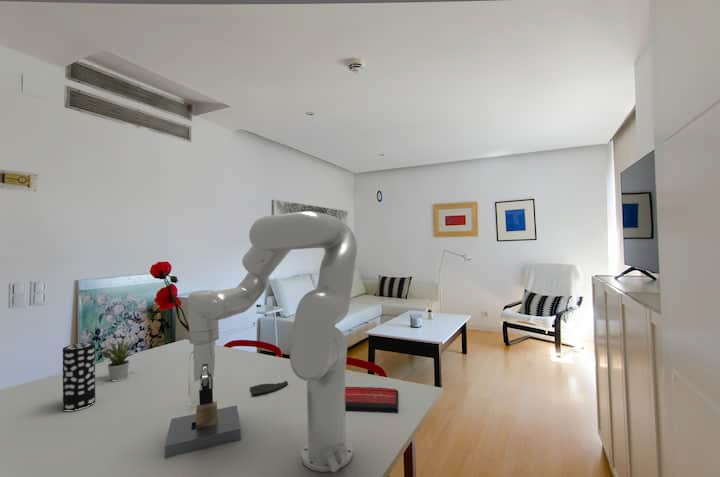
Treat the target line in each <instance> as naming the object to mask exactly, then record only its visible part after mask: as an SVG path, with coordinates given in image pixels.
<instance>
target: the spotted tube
mask: <svg viewBox="0 0 720 477" xmlns="http://www.w3.org/2000/svg"><path fill="white" fill-rule="evenodd" d="M94 402H95V403H96V343H95V342H91V341H90V342H81V343H75V344H70V345H67V346H64V347H63V348H62V410H63V409H64V410H75V409H79V408H83V407H86V406H88V405H91V404H92V403H94ZM95 403H94V404H95Z"/></svg>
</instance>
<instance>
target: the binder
mask: <svg viewBox="0 0 720 477" xmlns="http://www.w3.org/2000/svg"><path fill="white" fill-rule="evenodd" d="M345 404H346V412H356V413H357V412H359V413H360V412H361V413H382V414H383V413H386V414H387V413H388V414H398V413H399V412H398V411H399V408H398V407H399V390H398V389H396V388H387V387H374V386H373V387H372V386H365V387H364V386H345Z"/></svg>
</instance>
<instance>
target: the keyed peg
mask: <svg viewBox="0 0 720 477" xmlns="http://www.w3.org/2000/svg"><path fill="white" fill-rule="evenodd" d="M217 409H218V401H216V400H215V401H213V402H212V403H210V404H205V405H200V404H197V405H196V409H195V410H196V412H195V414H196V429H200V428H204V427H209V426H213V425H217Z"/></svg>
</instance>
